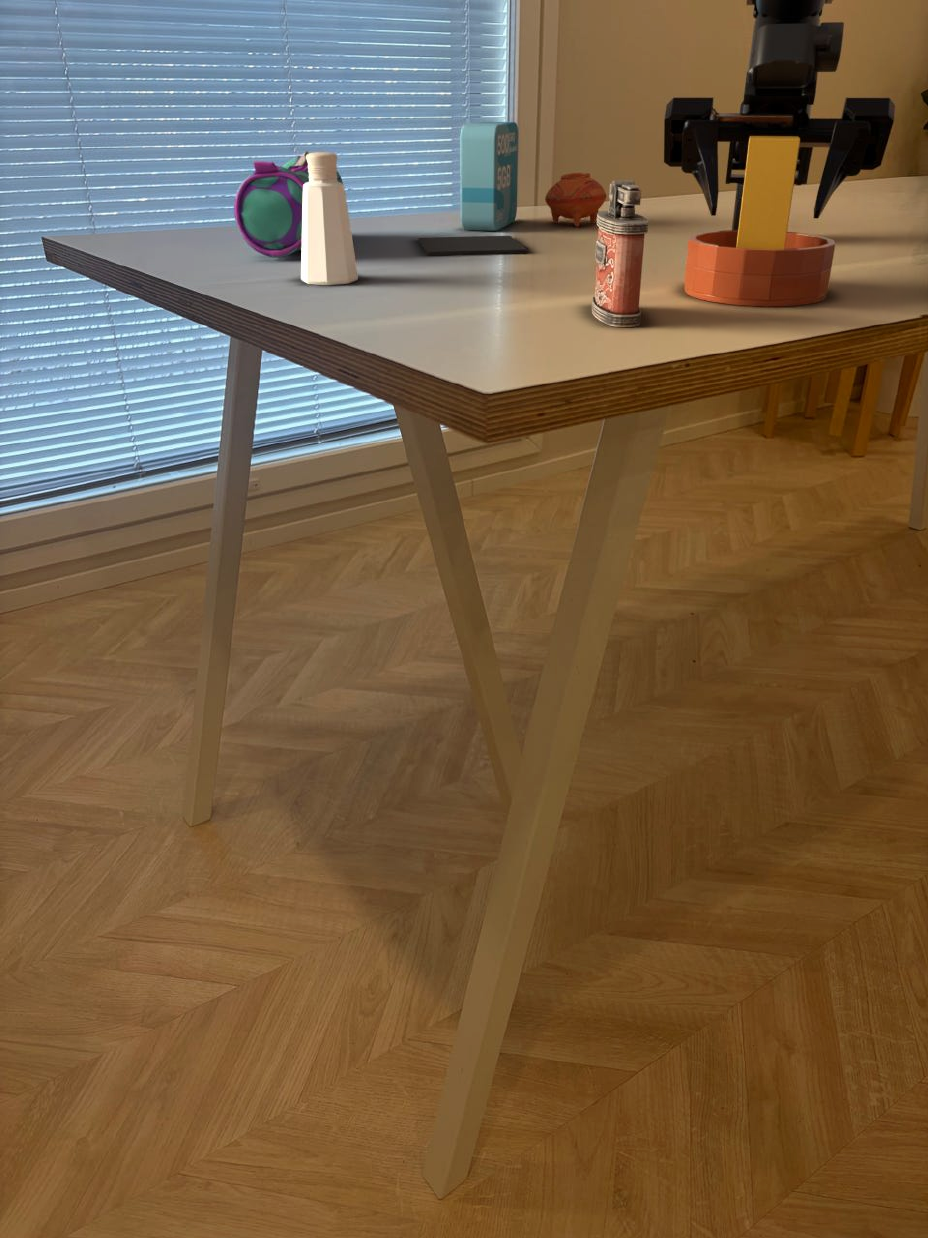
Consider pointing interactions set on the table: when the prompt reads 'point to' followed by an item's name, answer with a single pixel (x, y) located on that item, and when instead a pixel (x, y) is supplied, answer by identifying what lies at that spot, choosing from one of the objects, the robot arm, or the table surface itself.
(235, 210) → the pencil case
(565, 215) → the pot
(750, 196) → the block
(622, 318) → the lighter
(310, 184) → the pepper shaker
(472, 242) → the mat
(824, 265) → the bowl
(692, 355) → the table surface
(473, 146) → the data package
